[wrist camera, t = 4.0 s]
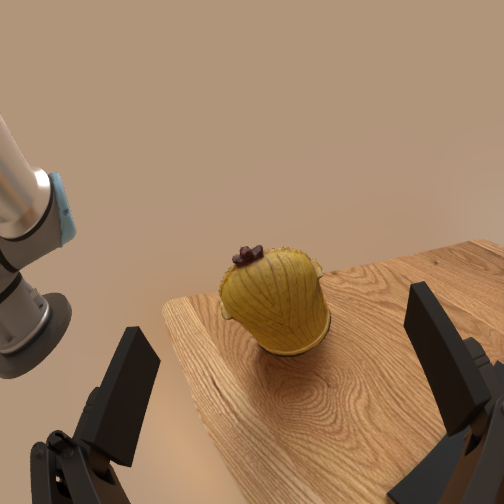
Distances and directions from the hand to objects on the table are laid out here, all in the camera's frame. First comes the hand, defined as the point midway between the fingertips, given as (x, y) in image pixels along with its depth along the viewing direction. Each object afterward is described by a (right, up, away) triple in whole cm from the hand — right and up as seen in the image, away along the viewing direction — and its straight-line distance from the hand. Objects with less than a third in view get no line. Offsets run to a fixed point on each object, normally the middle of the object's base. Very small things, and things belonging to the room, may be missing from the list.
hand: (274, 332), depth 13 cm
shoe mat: (+25, -17, -14) cm, 33 cm away
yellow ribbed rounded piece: (+3, -6, +15) cm, 17 cm away
